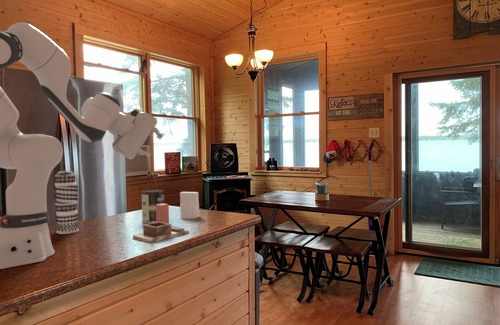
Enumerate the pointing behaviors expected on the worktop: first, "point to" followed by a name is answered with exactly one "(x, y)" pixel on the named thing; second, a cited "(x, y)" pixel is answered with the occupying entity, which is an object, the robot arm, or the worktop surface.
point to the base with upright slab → (189, 205)
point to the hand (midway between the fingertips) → (156, 145)
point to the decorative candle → (66, 202)
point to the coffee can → (151, 204)
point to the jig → (159, 232)
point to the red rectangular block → (162, 213)
